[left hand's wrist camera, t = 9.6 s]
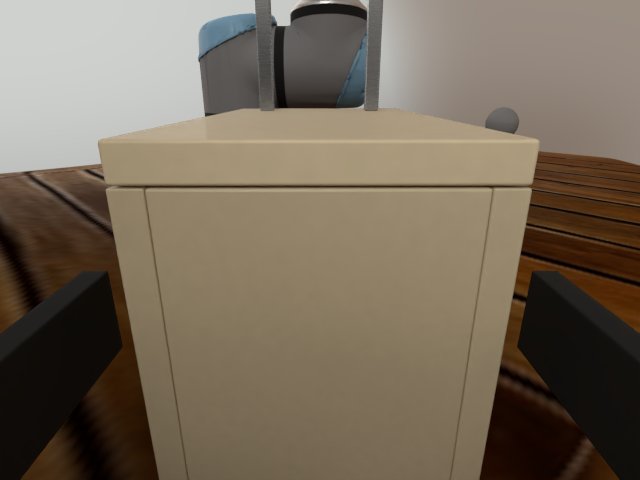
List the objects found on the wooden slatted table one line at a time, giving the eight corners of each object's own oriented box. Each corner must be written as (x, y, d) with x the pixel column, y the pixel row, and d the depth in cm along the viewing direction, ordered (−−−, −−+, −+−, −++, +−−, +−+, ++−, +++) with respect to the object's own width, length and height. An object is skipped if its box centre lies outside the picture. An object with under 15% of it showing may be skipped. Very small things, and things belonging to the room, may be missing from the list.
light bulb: (486, 161, 79) (493, 108, 76) (476, 157, 85) (483, 106, 81) (517, 162, 79) (526, 108, 76) (506, 157, 85) (513, 106, 81)
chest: (251, 289, 29) (241, 127, 25) (386, 289, 29) (397, 127, 25) (168, 534, 13) (103, 189, 9) (470, 533, 13) (533, 188, 9)
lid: (243, 125, 25) (232, -42, 22) (395, 125, 25) (405, -42, 22) (103, 187, 9) (-7, -408, 6) (533, 186, 9) (642, -408, 6)
